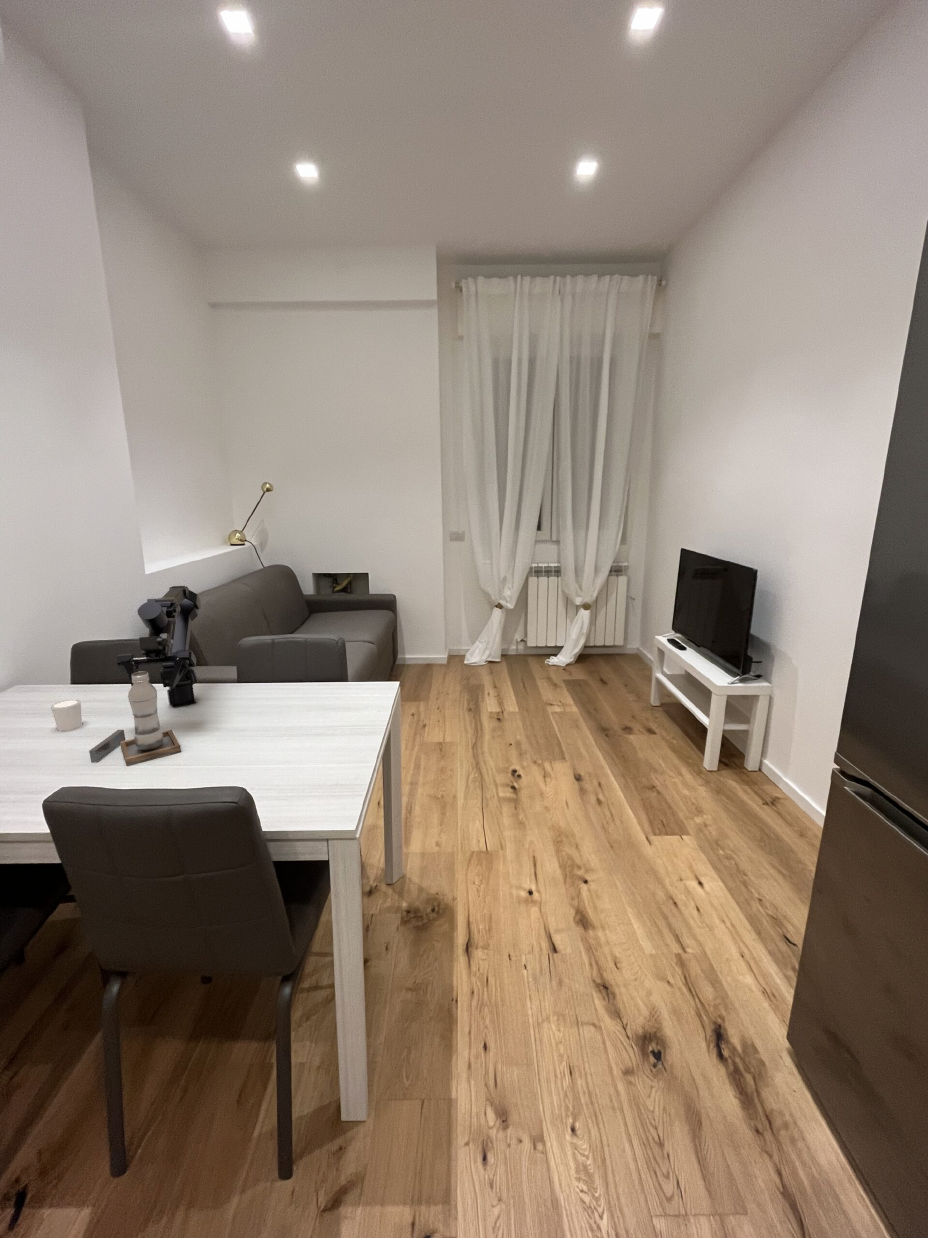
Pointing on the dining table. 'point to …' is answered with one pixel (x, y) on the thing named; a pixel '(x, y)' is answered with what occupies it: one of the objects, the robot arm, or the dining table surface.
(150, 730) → the plastic bottle
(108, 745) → the bar
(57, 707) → the white tapered cup
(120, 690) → the dining table surface
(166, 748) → the wooden tray
